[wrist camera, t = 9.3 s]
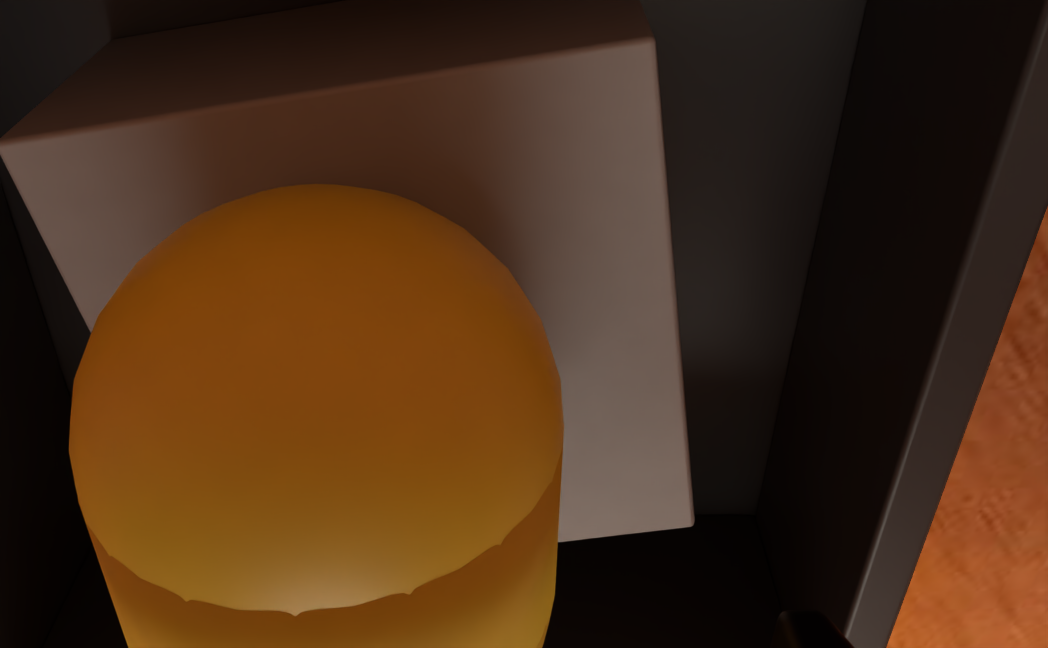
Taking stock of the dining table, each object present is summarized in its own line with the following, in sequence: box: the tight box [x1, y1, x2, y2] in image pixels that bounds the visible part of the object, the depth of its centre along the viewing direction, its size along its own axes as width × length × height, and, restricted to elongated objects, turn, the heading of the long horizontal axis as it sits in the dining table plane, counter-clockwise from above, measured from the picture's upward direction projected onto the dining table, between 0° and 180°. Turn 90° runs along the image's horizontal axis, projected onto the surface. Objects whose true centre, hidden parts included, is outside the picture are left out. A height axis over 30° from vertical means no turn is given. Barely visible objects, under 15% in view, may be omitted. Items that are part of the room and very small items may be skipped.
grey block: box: [0, 0, 695, 542], centre depth 15 cm, size 8×8×4 cm
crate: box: [0, 0, 1048, 648], centre depth 15 cm, size 16×16×6 cm
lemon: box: [69, 184, 564, 648], centre depth 11 cm, size 8×5×5 cm
